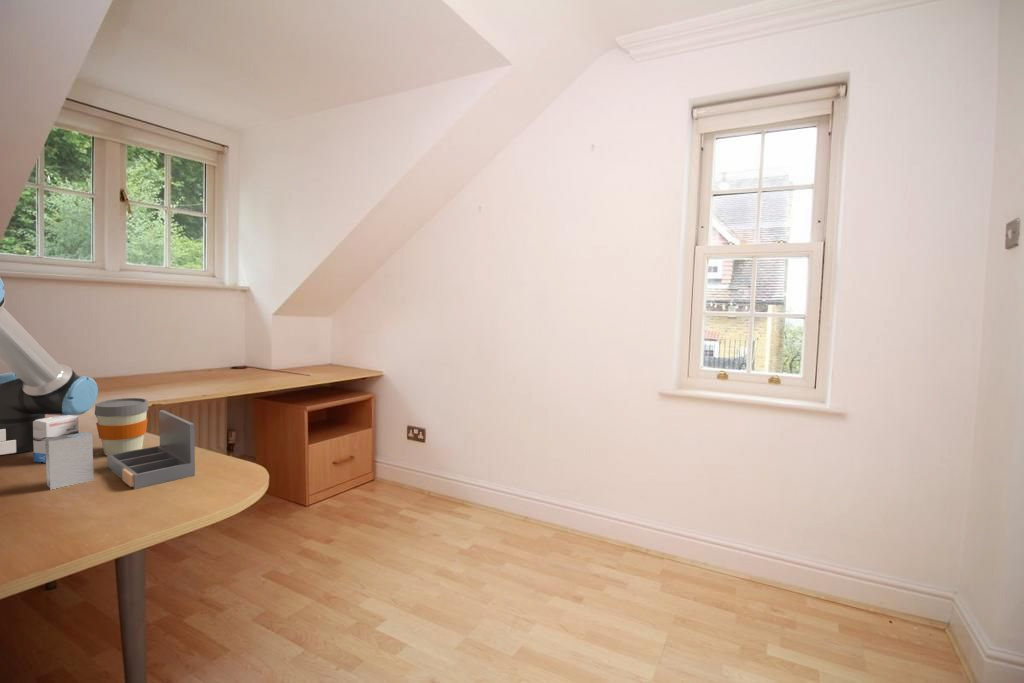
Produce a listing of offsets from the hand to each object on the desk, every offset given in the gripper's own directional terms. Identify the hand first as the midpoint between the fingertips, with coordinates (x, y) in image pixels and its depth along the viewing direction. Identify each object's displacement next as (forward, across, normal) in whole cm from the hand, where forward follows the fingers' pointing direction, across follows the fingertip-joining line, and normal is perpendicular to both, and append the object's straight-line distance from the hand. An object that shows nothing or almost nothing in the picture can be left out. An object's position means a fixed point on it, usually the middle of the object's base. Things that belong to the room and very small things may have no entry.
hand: (10, 440), depth 110 cm
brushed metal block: (+10, 0, -13) cm, 17 cm away
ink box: (+12, -26, -13) cm, 32 cm away
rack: (+25, +4, -13) cm, 29 cm away
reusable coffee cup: (+26, -22, -13) cm, 36 cm away
